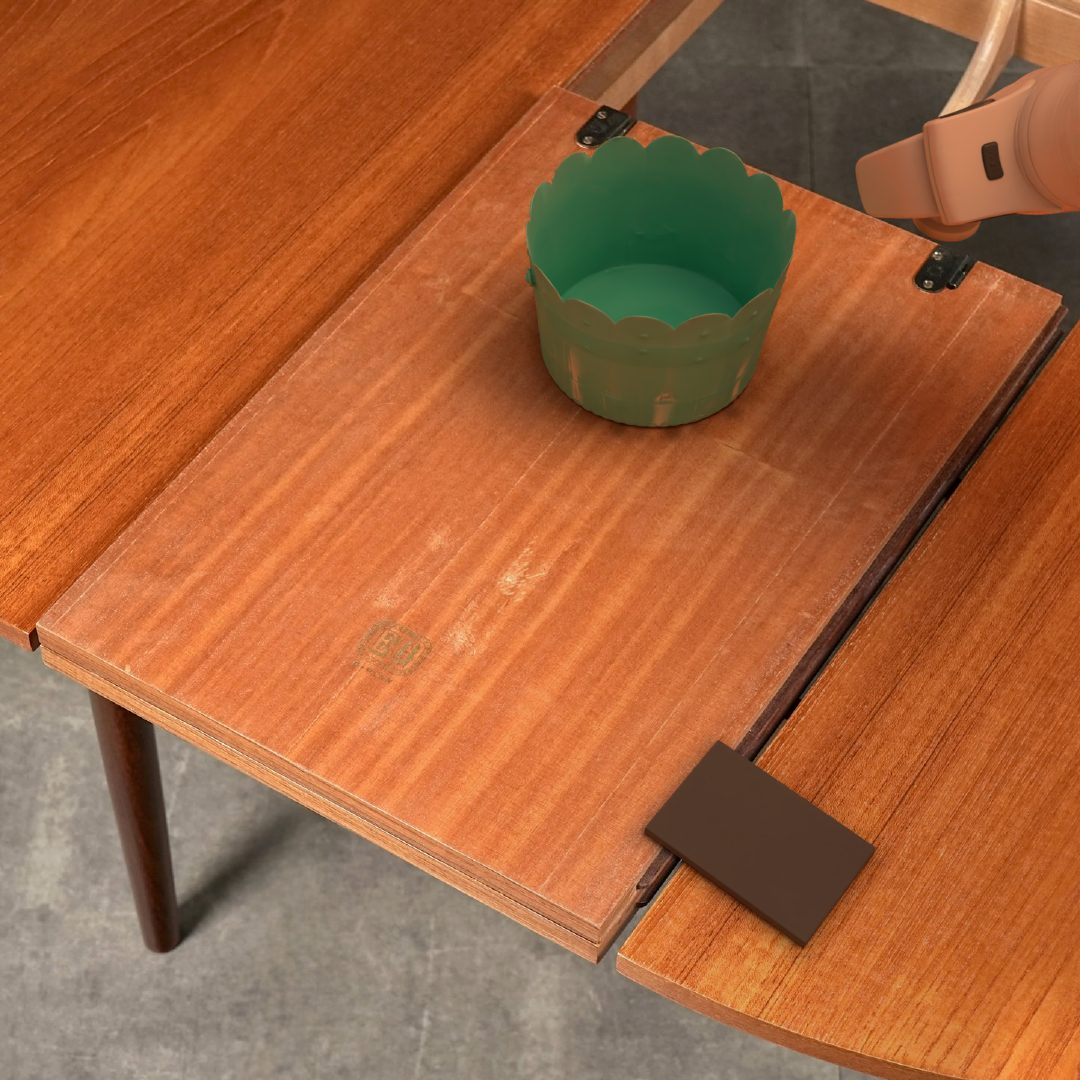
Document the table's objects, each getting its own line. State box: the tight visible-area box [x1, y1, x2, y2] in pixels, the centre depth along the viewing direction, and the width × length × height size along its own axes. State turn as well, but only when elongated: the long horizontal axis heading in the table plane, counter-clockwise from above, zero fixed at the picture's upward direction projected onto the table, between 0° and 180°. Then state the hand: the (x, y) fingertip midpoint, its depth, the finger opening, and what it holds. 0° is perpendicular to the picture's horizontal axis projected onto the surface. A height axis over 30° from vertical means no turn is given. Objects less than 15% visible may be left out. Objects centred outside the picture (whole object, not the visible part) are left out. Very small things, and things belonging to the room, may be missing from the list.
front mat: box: [644, 739, 877, 948], centre depth 106 cm, size 12×8×1 cm, turn 52°
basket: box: [524, 134, 798, 428], centre depth 124 cm, size 19×18×13 cm
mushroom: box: [911, 116, 982, 243], centre depth 116 cm, size 6×6×8 cm
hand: (955, 156), depth 116 cm, fingers closed on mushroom, 6 cm apart
